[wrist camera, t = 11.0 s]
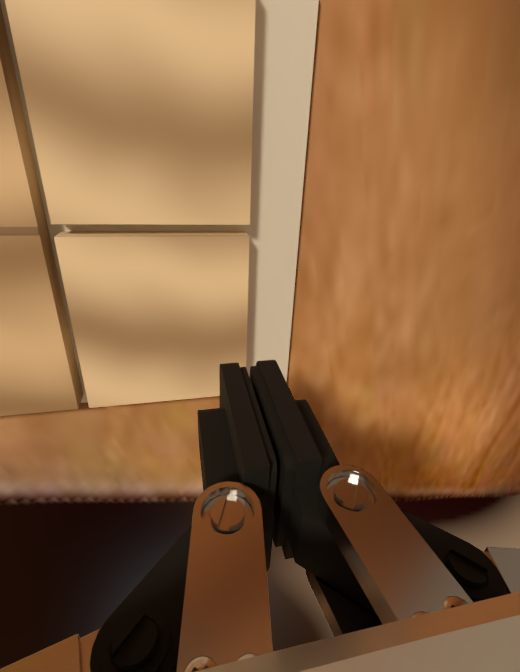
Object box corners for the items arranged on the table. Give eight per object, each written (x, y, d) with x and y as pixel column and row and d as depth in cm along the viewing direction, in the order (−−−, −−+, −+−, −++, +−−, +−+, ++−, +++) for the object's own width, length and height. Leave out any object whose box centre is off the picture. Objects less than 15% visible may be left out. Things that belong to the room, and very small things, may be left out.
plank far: (61, 231, 16) (53, 237, 15) (245, 230, 18) (249, 236, 17) (93, 394, 20) (89, 408, 19) (241, 381, 21) (245, 393, 20)
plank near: (5, -55, 12) (-11, -74, 11) (249, -21, 14) (256, -35, 12) (58, 219, 16) (51, 224, 15) (245, 220, 17) (249, 224, 16)
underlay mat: (-361, -100, 10) (-379, -108, 10) (316, -8, 14) (319, -11, 14) (-104, 415, 18) (-109, 419, 18) (284, 381, 22) (286, 384, 22)
